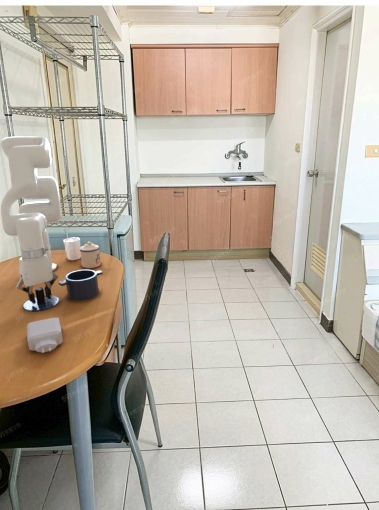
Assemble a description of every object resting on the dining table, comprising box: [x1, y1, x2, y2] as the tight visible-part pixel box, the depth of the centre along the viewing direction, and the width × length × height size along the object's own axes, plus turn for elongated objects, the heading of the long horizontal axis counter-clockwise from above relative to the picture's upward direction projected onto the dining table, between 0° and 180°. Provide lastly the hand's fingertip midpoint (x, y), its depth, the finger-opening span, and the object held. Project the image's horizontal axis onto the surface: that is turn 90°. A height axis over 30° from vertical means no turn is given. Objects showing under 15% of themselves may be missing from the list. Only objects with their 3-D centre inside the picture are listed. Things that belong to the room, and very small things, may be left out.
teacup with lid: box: [80, 241, 102, 269], centre depth 166 cm, size 12×9×12 cm
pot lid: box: [22, 286, 60, 313], centre depth 126 cm, size 12×12×7 cm
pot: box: [58, 269, 104, 302], centre depth 133 cm, size 11×17×8 cm
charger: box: [26, 317, 64, 354], centre depth 101 cm, size 5×9×15 cm
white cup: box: [63, 236, 82, 261], centre depth 175 cm, size 8×8×10 cm
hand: (40, 299), depth 126 cm, fingers open, 4 cm apart
